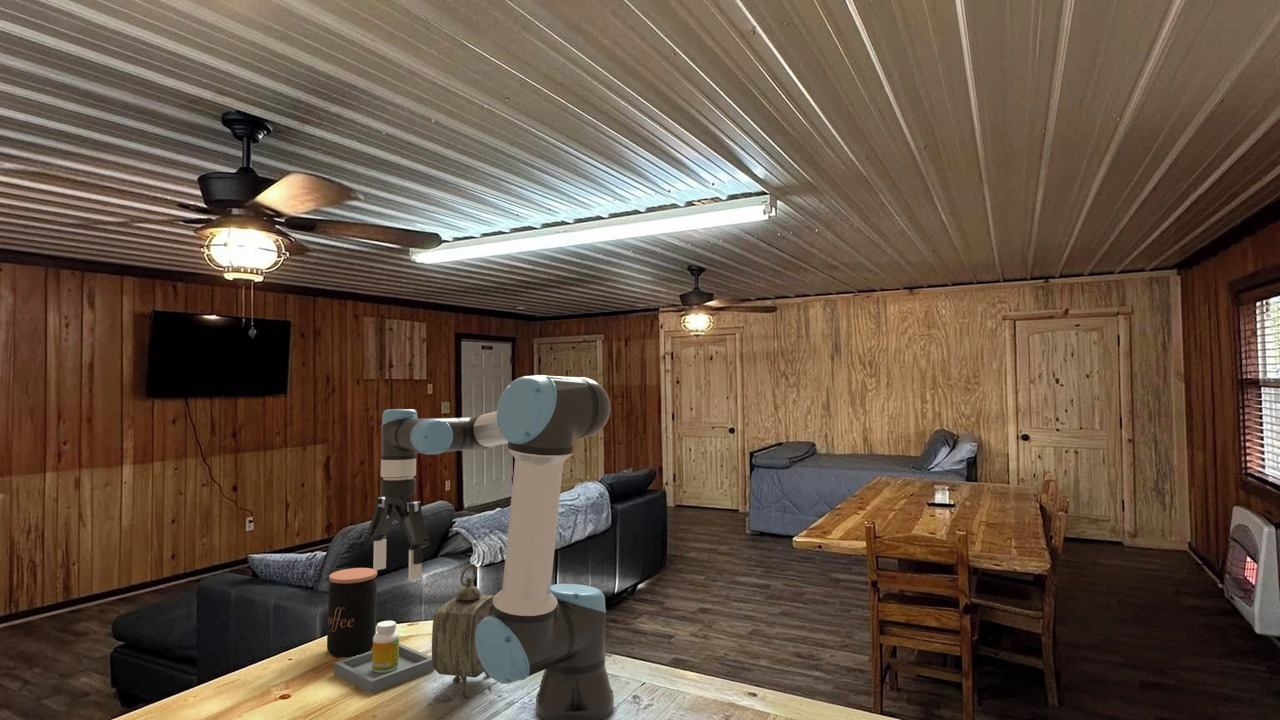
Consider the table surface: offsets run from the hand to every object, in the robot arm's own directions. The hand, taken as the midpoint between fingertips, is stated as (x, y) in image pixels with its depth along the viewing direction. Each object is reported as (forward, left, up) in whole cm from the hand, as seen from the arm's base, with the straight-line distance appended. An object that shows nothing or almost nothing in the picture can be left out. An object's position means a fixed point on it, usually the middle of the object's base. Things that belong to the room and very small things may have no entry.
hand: (396, 574), depth 146 cm
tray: (+1, +2, -21) cm, 21 cm away
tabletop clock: (-18, -5, -21) cm, 28 cm away
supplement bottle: (+1, +2, -20) cm, 20 cm away
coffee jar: (+19, 0, -21) cm, 28 cm away
